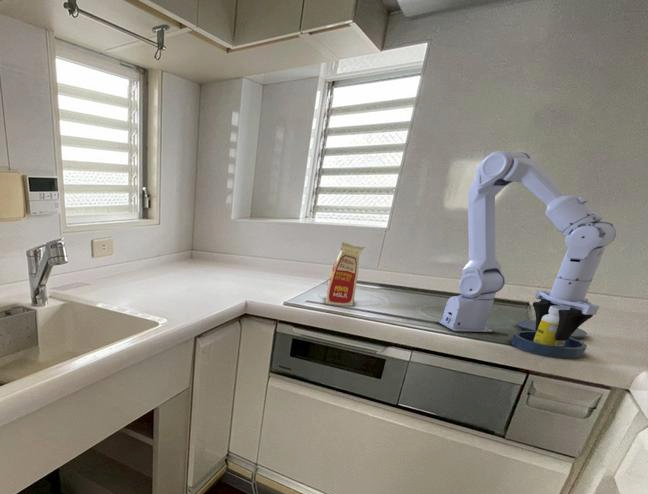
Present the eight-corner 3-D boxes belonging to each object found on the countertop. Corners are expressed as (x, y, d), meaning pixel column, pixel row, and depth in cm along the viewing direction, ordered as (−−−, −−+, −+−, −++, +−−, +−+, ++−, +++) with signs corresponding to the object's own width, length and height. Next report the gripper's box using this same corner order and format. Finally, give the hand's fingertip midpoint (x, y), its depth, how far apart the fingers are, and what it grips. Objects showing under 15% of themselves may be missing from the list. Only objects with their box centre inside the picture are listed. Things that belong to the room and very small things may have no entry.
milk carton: (326, 304, 136) (336, 243, 128) (325, 297, 144) (334, 239, 136) (355, 306, 133) (368, 244, 125) (353, 299, 141) (364, 240, 133)
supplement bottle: (530, 341, 100) (545, 303, 96) (560, 346, 97) (577, 306, 93) (532, 347, 96) (547, 307, 92) (563, 352, 93) (580, 312, 89)
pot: (536, 357, 92) (540, 347, 91) (499, 338, 103) (502, 330, 102) (598, 359, 90) (603, 349, 89) (553, 340, 102) (557, 331, 101)
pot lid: (541, 339, 103) (549, 320, 101) (504, 323, 115) (511, 305, 113) (601, 341, 101) (609, 321, 99) (557, 324, 114) (564, 307, 112)
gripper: (625, 286, 83) (597, 347, 88) (566, 273, 96) (545, 326, 102) (587, 285, 84) (561, 345, 89) (534, 272, 97) (514, 326, 102)
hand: (550, 335), depth 95 cm, fingers closed on supplement bottle, 5 cm apart
